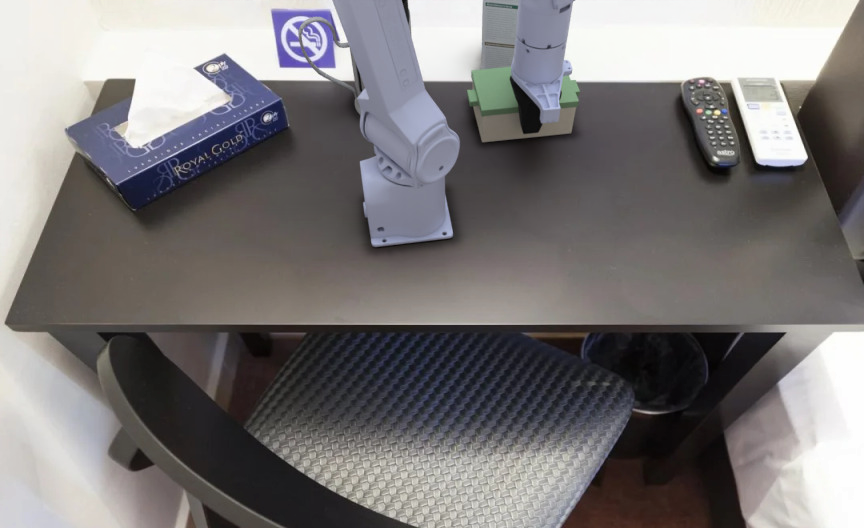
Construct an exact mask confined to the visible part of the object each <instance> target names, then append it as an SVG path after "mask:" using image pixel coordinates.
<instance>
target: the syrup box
mask: <svg viewBox="0 0 864 528" xmlns="http://www.w3.org/2000/svg"><path fill="white" fill-rule="evenodd" d="M518 1H519V0H482V10H481V11H482V14H481V15H482V16H481V17H482V18H481V65H480V66H481V67H480V68H481V69H492V68H503V67H511V65H512V61H513V57H514V48H515V36H516V24H517V12H518ZM481 69H480V70H481Z"/></svg>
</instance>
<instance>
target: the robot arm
mask: <svg viewBox="0 0 864 528" xmlns="http://www.w3.org/2000/svg"><path fill="white" fill-rule="evenodd" d="M574 2H576V0H519V1H518V12H517V24H516V36H515V48H514V57H513V61H512V65H511V76H510V82H511V86H512V89H513V92H514V95H515V98H516V101H517V103H518V109H519V118H520V124H521V128H522V131H523V134H531V133H538V132H539V131H540V129H541V127H542V124H543V123H553V122H558V121H559V115H560V109H561V108H560V104H559V100H560V99H561V95H562V91H561V86H562V80H563V77H564V76H568V75H569V76H571V75H572V73H573V65H572V63H571V61H569V60H568V59H565V55H566V49H567V42H568V36H569V30H570V24H571V17H572V11H573V6H574V5H573V4H574ZM332 4H333V6H334V9H335V11H336V15H337V17H338V20H339V22H340V26H341V28H342V30H343V33H344V35H345V38H346V41H347V42H348V44H349V46H350V47H349V50H350V49H351V52H352V54H353V57H354V60H355V62H356V65H357V67H358V70H359V73H360V75H361V78H362V81H363V83H364V86H365V89H364V90H363V91H362V93H361V94H360V95H359V96H358V98H357V100H358V103H359V105H360V109H361V115H360V117H359V129H360V133H361V135H362V136H363V138H364V139H365V140H366V141H368V143H372V144H373V152H374V154H375V156H372V157H369V158H366V159H363V160H360V161H359V168H360V175H361V184H362V190H363V191H362V192H363V197H364V199H363V200H364V201H363V202H362V205H363V214H364V218H367V223H368V229H369V235H370V242H371V246H372V247H374V248H379V247H388V246H394V245H395V246H396V245H404V244H412V243H421V242H429V241H430V242H431V241H438V240H447V239H451V238H453V237H454V232H453V227H452V221H451V220H452V219H451V215H450V211H449V206H448V201H447V196H446V195H447V194H446V176H447V175H448V174H449V173H450V171H452V169H453V167H454V166H455V164H456V162H457V159H458V158H459V153H460V148H461V147H460V146H461V140H460V137H459V135H458V133H456V132H455V131H454V130H453V129H451V128H450V127H449V125H448V121H447V117H446V116H445V114H444V113H443V111H441V108H440V107H439V106H438V104H437V103H436V102H435V101H434V99H433V98H432V97H431V95H430V93H428V91H427V89H426V86H425V82H424V79H423V75H422V72H421V67H420V64H419V60H418V56H417V52H416V48H415V45H414V41H413V36H412V37H411V35H412V32H411V33H410V29H409V26H408V22H407V18H406V14H405V11H404V7H403V3H402V0H332Z"/></svg>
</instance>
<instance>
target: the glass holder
mask: <svg viewBox="0 0 864 528" xmlns="http://www.w3.org/2000/svg"><path fill="white" fill-rule="evenodd" d="M402 3H403V7H404V11H405V14H406V18H407V22H408V26H409V29H410V33H411V37H412V38H413V36H412V20H411V19H412V18H411V11H410V8H409V0H402ZM316 22H317V23H322V24H324V25H326V26H327V27H328V28H329V29H330V31H331V34H332V38H333V41H334V44H335V45H336V47H338V48H341V49H347V48H349V53H350V59H351V66H352V72H353V79H354V86H355V87H353V86H352V85H350V84H348V83H346V82H344V81H342V80H340V79H338V78H335V77H333V76H332V75H330V74H328V73H326V72H324V71H323V70H321V69H320V68H319V67H318V66H317V65H316V64H315V63H314V62H313V60H311V58H310V57H309V55H308V53H307V51H306V49H305V46H304V43H303V31H304V29H305V28H306V27H307V26H308V25H310V24H312V23H316ZM297 33H298V42H299V46H300V50H301V52H302V55H303V57H304V58H305V60H306V61H307V64H309V66H310V67H311V68H312V69H313V70H314V71H315V72H316V73H317V74H318V75H319V76H322V78H324V79H326V80H328V81H330V82H332V83H334V84H335V85H338V86H341V87H343V88H345V89H347V90H349V91H351V92H352V93H353V95H354V98H355V99H354V107H355V111H356V112H357V113H358V115H359V116H361V109H360V105H359V103H358V100H357V98H358V96H359V95H360V94H361V93H362V91H363V90H364V89H365V86H364V83H363V81H362V78H361V75H360V73H359V70H358V67H357V65H356V62H355V60H354V57H353V54H352V52H351V49H350V46H349V44H348V41H347V42H339V41H338V38H337V33H336V30H335V28H334V26H333V24H332V23H331V22H330V20H328V19H326V18H324V17H322V16H312V17H309V18H307V19H305V20H304V21H303V22H302V23H300V26H299V28H298V31H297Z"/></svg>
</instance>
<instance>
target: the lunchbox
mask: <svg viewBox="0 0 864 528" xmlns="http://www.w3.org/2000/svg"><path fill="white" fill-rule="evenodd" d="M510 76H511V67H503V68H492V69H472V70H470V77H471V82H472V85H471V86H472V87H471V89H467V90H466V96H467V101H468V104H469V107H470V108H471V107H472V108H473V112H474V116H475V120H476V125H477V127H478V131H479V136H480V141H481V143H489V142H498V141H499V142H501V141H508V140H519V139H529V138H538V137H549V136H550V137H551V136H558V135H559V136H560V135H567V134H568V135H569V134H572V131H573V126H574V121H575V117H576V112H577V111H576V110H577V108H579V102H580V100H579V98H578V97H580V94H581V90H580V87H579V85H578V83H577V80H576V79H571V77H570V75H568V76H564V77H563V80H562V86H561V91H562V95H561V99H560V100H559V104H560V108H561V109H560V115H559V121H558V122H553V123H543V124H542V127H541V129H540V131H539V132H538V133H531V134H523V131H522V128H521V124H520V118H519V109H518V103H517V101H516V98H515V95H514V92H513V89H512V86H511V82H510Z"/></svg>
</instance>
